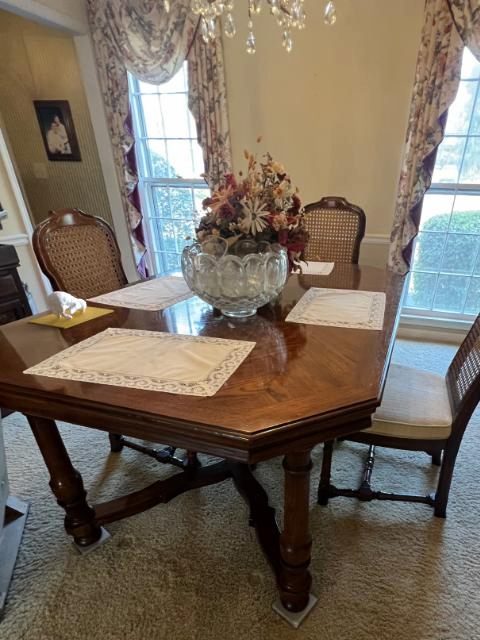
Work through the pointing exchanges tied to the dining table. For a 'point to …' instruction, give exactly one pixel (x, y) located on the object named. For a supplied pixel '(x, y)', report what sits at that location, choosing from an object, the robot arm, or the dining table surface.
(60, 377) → the dining table surface
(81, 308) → the white animal figurine
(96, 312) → the cloth
